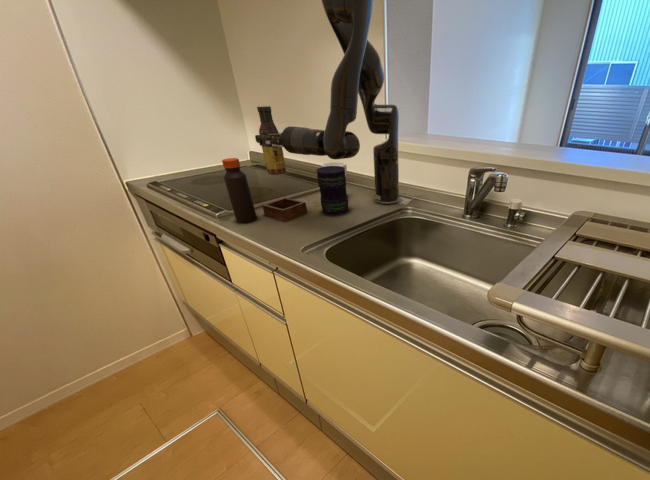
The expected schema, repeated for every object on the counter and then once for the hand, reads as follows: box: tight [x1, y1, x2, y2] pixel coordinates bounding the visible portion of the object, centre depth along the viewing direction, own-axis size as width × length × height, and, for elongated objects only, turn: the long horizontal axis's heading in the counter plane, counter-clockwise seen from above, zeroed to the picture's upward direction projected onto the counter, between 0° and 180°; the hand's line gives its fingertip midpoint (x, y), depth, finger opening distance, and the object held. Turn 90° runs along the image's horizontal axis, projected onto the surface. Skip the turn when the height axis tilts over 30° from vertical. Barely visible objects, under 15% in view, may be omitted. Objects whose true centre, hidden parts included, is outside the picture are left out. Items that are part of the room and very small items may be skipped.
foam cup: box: [321, 161, 348, 177], centre depth 136 cm, size 10×9×13 cm
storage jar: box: [316, 166, 350, 217], centre depth 121 cm, size 10×10×15 cm
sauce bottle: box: [256, 105, 287, 176], centre depth 110 cm, size 6×6×20 cm
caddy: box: [261, 197, 308, 222], centre depth 123 cm, size 10×11×4 cm
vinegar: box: [221, 157, 258, 224], centre depth 114 cm, size 7×7×20 cm
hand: (265, 137), depth 111 cm, fingers closed on sauce bottle, 6 cm apart
